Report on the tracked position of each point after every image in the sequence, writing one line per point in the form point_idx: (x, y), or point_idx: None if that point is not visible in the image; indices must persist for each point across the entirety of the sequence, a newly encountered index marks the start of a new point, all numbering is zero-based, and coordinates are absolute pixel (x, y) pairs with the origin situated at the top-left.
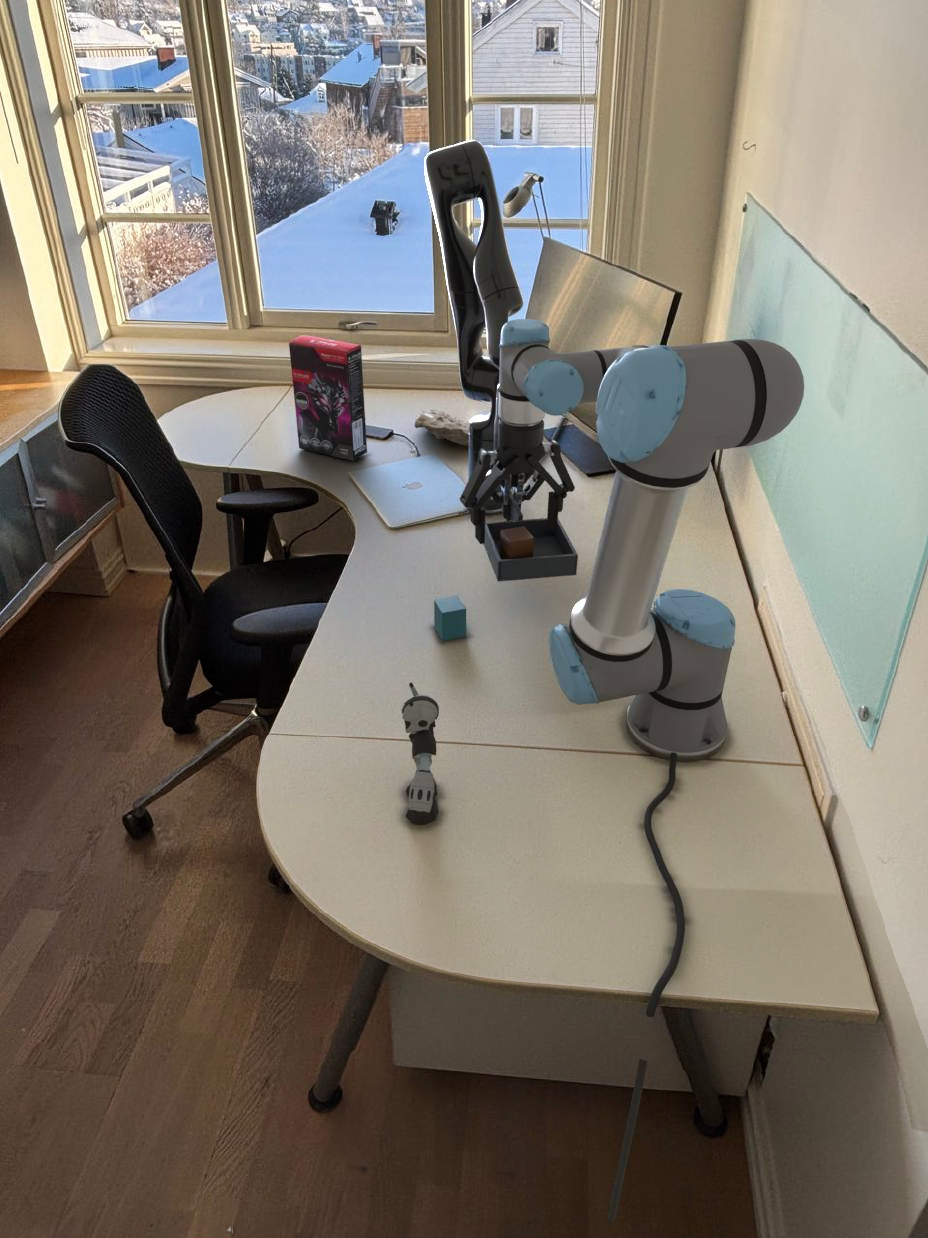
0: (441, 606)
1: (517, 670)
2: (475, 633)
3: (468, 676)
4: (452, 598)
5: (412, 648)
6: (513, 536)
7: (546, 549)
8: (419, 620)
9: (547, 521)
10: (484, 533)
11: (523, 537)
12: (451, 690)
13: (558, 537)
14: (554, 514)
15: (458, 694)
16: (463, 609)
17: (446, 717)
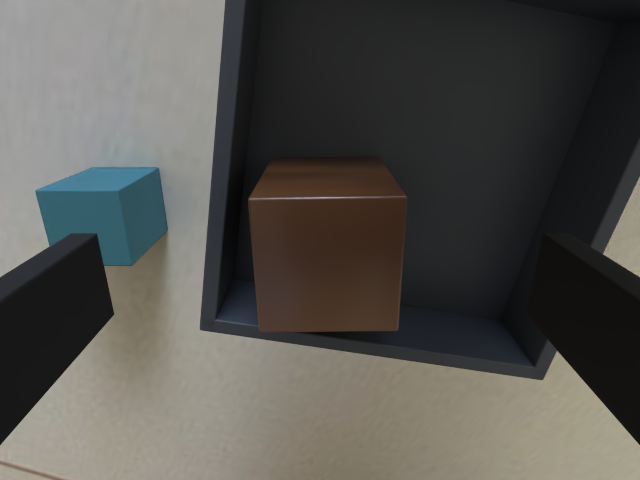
0: (56, 232)
1: (247, 368)
2: (194, 223)
3: (142, 357)
4: (96, 202)
5: (27, 233)
6: (296, 289)
7: (501, 145)
8: (54, 117)
9: (556, 251)
10: (77, 352)
11: (344, 315)
12: (100, 383)
13: (604, 106)
14: (595, 393)
15: (112, 396)
16: (123, 265)
17: (80, 439)
